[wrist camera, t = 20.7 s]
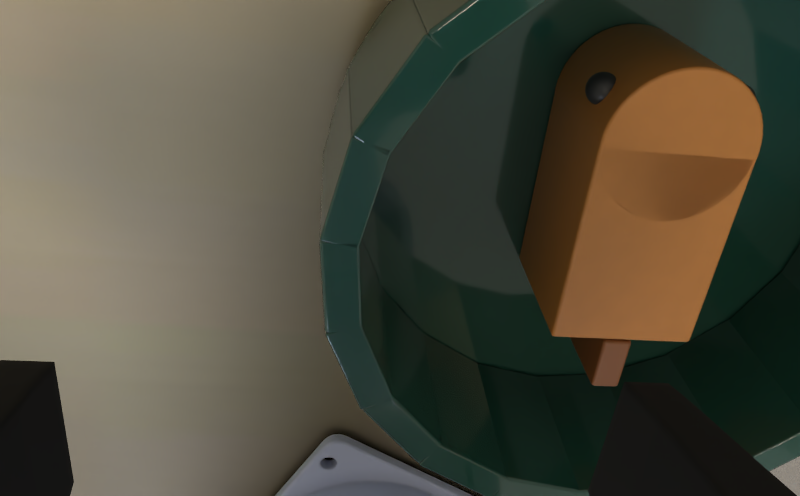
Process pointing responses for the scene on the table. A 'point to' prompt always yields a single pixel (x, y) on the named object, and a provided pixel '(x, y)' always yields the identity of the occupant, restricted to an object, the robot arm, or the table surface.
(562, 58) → the pot
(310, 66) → the table surface
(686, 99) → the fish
